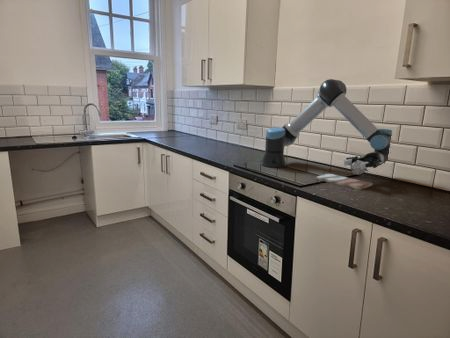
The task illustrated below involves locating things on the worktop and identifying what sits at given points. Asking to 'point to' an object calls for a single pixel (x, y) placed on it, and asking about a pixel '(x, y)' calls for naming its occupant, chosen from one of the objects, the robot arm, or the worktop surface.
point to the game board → (344, 181)
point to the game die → (357, 167)
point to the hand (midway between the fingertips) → (353, 164)
